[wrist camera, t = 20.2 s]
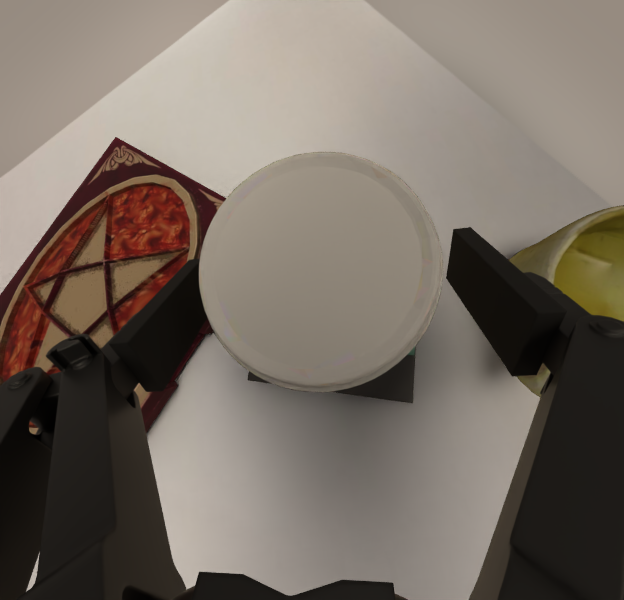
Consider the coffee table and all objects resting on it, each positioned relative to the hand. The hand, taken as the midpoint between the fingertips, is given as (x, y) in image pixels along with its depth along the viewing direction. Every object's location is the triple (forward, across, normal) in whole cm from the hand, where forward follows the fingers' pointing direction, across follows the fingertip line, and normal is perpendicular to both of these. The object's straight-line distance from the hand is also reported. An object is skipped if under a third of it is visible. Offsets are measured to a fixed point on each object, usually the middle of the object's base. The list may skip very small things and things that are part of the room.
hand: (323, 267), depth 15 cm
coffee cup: (+4, 0, -6) cm, 8 cm away
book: (+9, -22, -6) cm, 24 cm away
